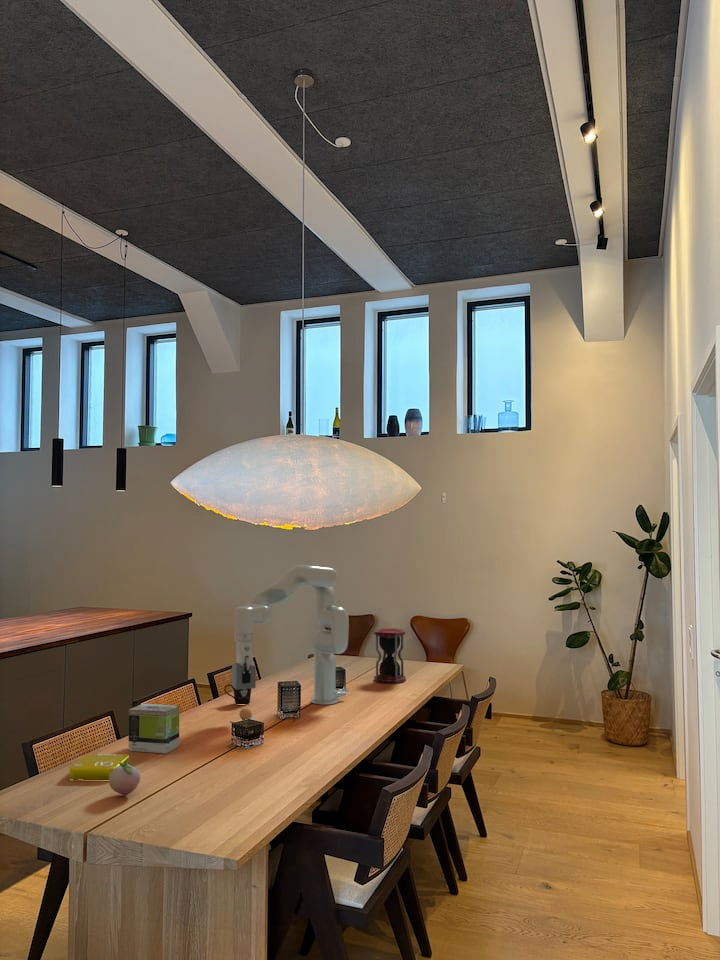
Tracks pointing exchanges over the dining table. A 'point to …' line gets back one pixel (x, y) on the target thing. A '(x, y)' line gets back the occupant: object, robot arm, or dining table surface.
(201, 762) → the dining table surface
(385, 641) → the hourglass
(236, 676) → the grey block
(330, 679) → the robot arm
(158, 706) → the tea box
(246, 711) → the ball
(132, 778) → the decorative fruit
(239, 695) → the coffee mug
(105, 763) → the element tile
